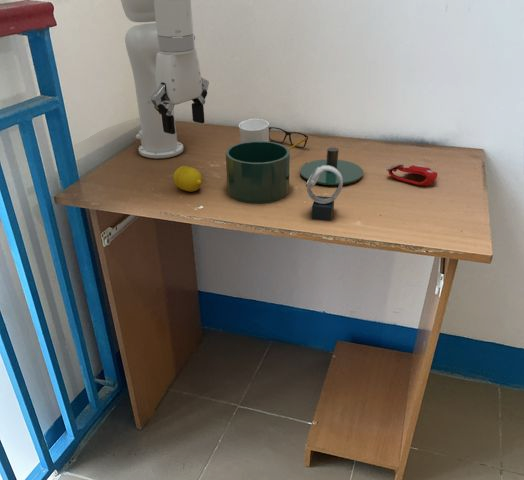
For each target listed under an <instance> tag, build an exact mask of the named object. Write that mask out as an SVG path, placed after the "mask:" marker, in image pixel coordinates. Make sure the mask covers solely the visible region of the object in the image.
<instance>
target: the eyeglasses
mask: <svg viewBox="0 0 524 480" xmlns="http://www.w3.org/2000/svg"><path fill="white" fill-rule="evenodd" d="M271 129H272V130H273V129H274V130H279V131H282V132H283V133H284V137H283V140H282V141H277V140H273V139H271V136H270V135H269V141H270V142H274V143H278V144H283V143H284V142H285V141H286V139H287V136H288V140H289V142H290V145H291V146H290V147H287V148H288V149H289V150H291V149H293V148H299V149H303V148H305V147H306V145H307V143H308V139H309V136H308V135H307V134H305V133H302V132H298V131H287V130H284V129H282V128H281V127H280V128H279V127H273V126H269V133H270V131H271ZM293 134H296V135H297V134H298V135H302V136H304V138H302V139H301V140H299V141H297V142H296V143H294V144H293V141H292V137H291V136H292V135H293ZM302 143H304V144H303V146H298V145H300V144H302Z"/></svg>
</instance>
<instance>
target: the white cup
mask: <svg viewBox="0 0 524 480" xmlns="http://www.w3.org/2000/svg"><path fill="white" fill-rule="evenodd" d="M269 127H270V122H269V121H268V120H266V119H262V118H249V119H245V120H243V121H241V122H240V123H238V131H239V140H240V143H243V142H250V141H267V142H270V140H269V136H270V132H269Z"/></svg>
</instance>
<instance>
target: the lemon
mask: <svg viewBox="0 0 524 480" xmlns="http://www.w3.org/2000/svg"><path fill="white" fill-rule="evenodd" d="M173 182H174V184H175V185H176V187H177V188H179V189H180V190H182V191H186V192H189V193H191V192H196V191H198V190H199V189H200V188H201V186H202V183H203V177H202V174H201V172H200V171H199V170H197V169H196V168H194V167H191V166H188V165H181V166H179V167H178V168H176V169H175V171H174V173H173Z"/></svg>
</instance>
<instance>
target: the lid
mask: <svg viewBox="0 0 524 480" xmlns="http://www.w3.org/2000/svg"><path fill="white" fill-rule="evenodd" d="M322 165H329V166H333V167H335V168H336V169H337V170H338V171H339V172H340V173H341V175H342V178H343V183H342V184H343V185H348V184H352V183H356V182H357V181H359V180H361V179H362V177H363V175H364V170H363V168H362V167H361V166H360V165H358V164H356V163H354V162H351V161H347V160H341V159H339V148H337V147H333V146H332V147H328V148H327V150H326V159H325V158H324V159H317V160H312V161H309V162H305V164H303V165H301V167H300V168H299V174H300V176H301V177H302V178H303V179H304V180H307V181H308V180H309V178H310V176H311V175H312V173H313V172H314V170H315V169H316V168H317V167H321V166H322ZM339 183H340V180H339V178H338V176H337V175H336V174H334V172H330V171H326V170H325V171H323V172H322V174H321V176H320V178H319V179H318V181H317V182H316V184H319V185H326V186H339Z"/></svg>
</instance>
